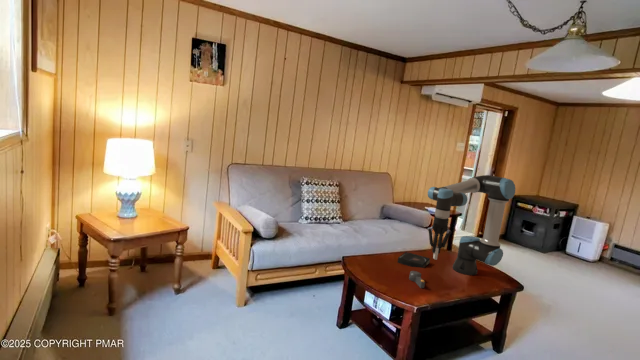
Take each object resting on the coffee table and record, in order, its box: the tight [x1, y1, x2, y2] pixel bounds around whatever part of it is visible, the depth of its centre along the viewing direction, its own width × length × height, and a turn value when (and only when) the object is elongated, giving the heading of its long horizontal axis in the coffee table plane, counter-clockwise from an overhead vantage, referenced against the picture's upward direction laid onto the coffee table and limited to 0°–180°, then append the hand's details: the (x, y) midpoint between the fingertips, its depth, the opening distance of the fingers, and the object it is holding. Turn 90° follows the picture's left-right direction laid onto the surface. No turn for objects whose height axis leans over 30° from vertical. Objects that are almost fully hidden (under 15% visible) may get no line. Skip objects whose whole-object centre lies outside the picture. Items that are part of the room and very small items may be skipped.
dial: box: [408, 270, 426, 289], centre depth 201 cm, size 14×6×4 cm, turn 7°
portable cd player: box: [396, 251, 431, 269], centre depth 237 cm, size 16×17×4 cm
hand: (434, 258), depth 195 cm, fingers closed
